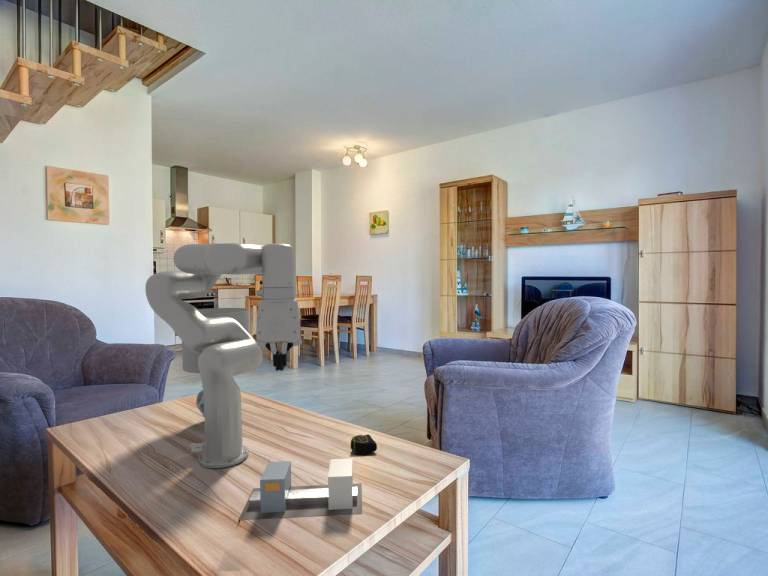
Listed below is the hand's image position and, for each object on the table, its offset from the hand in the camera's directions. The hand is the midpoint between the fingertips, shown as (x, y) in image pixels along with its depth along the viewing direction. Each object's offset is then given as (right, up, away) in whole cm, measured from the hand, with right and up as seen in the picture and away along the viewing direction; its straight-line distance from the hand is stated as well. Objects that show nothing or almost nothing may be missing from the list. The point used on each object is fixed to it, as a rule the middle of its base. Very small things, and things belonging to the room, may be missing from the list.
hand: (280, 369), depth 100 cm
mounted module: (+16, -26, -10) cm, 33 cm away
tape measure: (+20, -27, +16) cm, 37 cm away
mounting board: (+8, -28, -11) cm, 31 cm away
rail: (+8, -28, -11) cm, 31 cm away
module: (+2, -27, -11) cm, 29 cm away
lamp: (-31, -26, +40) cm, 57 cm away
